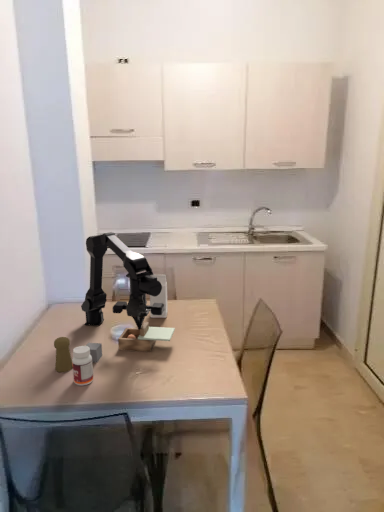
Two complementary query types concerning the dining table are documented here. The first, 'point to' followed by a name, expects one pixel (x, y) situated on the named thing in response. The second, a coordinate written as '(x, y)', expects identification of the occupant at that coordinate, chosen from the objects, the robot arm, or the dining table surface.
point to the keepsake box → (134, 341)
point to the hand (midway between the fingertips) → (139, 329)
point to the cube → (95, 351)
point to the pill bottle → (82, 365)
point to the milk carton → (160, 296)
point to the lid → (155, 333)
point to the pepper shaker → (63, 355)
